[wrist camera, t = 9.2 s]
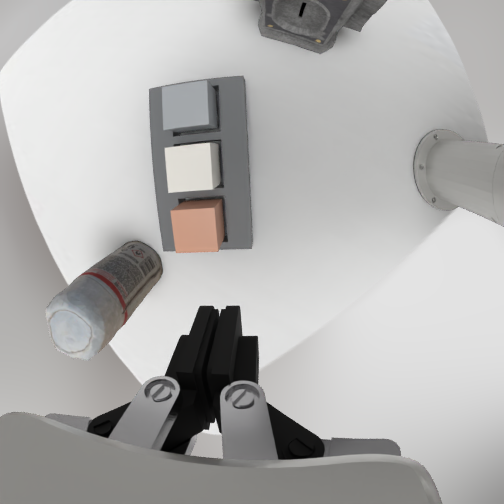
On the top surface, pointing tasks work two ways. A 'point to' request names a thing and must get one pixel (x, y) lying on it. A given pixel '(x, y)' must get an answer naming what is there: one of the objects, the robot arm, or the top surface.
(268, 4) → the figurine
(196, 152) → the ivory key
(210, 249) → the terracotta key
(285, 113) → the top surface
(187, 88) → the slate key
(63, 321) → the spray can
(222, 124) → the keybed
